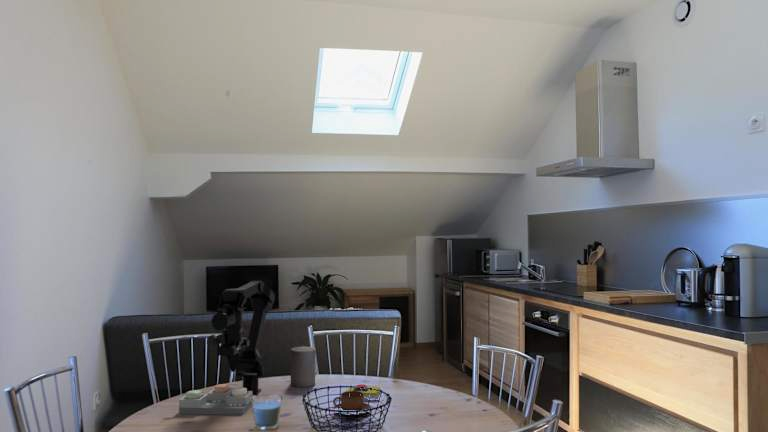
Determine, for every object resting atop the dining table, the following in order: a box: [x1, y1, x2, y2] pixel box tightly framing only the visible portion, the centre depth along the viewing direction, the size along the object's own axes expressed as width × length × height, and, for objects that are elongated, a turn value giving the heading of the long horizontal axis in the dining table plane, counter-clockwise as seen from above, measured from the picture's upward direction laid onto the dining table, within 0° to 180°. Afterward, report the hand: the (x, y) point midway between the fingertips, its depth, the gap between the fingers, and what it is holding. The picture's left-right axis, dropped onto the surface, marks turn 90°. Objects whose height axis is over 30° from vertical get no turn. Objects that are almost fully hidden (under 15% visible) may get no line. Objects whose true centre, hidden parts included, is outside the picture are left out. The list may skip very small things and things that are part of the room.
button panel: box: [178, 387, 257, 416], centre depth 186 cm, size 15×21×4 cm
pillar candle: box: [289, 346, 316, 388], centre depth 216 cm, size 10×10×15 cm
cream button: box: [232, 386, 247, 396], centre depth 186 cm, size 5×5×2 cm
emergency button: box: [345, 384, 381, 402], centre depth 198 cm, size 9×4×15 cm
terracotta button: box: [213, 383, 230, 393], centre depth 190 cm, size 5×5×2 cm
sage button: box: [185, 389, 203, 399], centre depth 183 cm, size 5×5×2 cm
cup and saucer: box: [332, 391, 372, 415], centre depth 180 cm, size 12×12×6 cm
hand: (233, 371), depth 190 cm, fingers closed
